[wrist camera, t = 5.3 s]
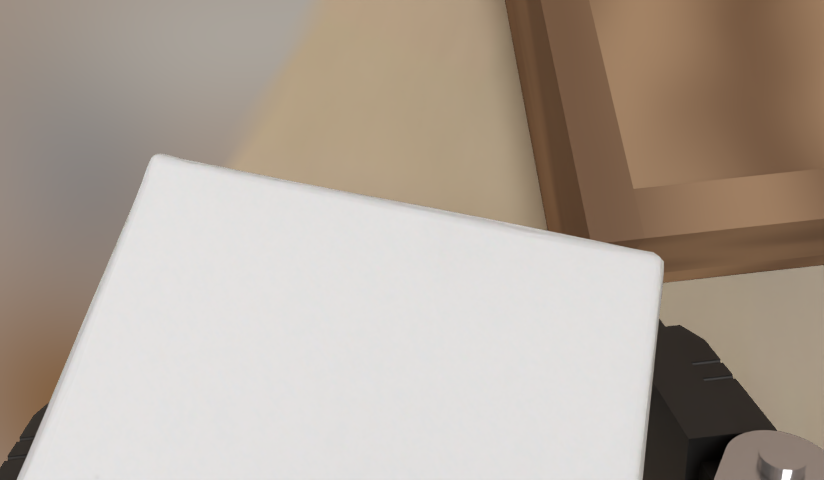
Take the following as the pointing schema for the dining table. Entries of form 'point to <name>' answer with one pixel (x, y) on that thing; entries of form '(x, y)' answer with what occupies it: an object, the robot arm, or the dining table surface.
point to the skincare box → (350, 343)
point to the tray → (679, 127)
